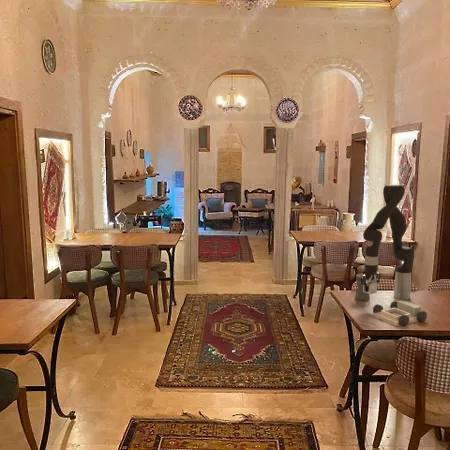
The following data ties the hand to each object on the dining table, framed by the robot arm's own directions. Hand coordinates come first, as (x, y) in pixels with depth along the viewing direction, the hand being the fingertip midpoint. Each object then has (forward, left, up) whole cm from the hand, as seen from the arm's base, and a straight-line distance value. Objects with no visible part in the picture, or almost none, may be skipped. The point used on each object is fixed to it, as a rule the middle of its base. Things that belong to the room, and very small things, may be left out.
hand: (369, 290), depth 262 cm
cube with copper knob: (0, 0, -1) cm, 1 cm away
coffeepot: (-11, -15, -11) cm, 21 cm away
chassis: (-3, +20, -11) cm, 23 cm away
